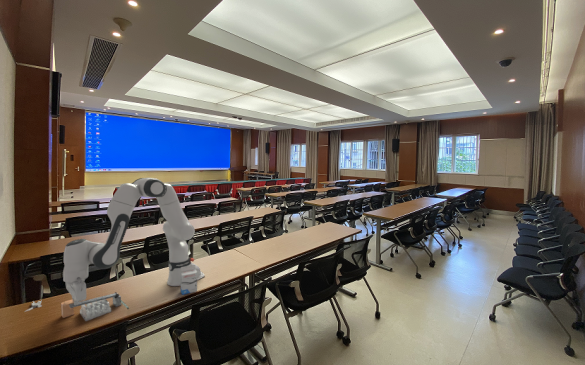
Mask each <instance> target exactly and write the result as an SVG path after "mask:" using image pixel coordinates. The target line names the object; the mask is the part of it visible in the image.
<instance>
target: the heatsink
mask: <svg viewBox="0 0 585 365" xmlns="http://www.w3.org/2000/svg"><path fill="white" fill-rule="evenodd" d="M121 300H122V296H121V295H120V294H119V297H117V296H116V297H112V305H113V306H114V307H115V308H117V307H119V306H122V303H121ZM80 307H81V308H80V309H79V314H80V316H81V317H82V319H83V320H84V321H85V322H88V321H91V320H93V319H95V318H99V317H101V316H103V315H106V314H108V313H111V312H112V308H111V307H110V302H109V301H108V300H107V299H104V300H100V301H96V302H92V303H88V304H84V305H81V306H80Z"/></svg>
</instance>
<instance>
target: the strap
mask: <svg viewBox="0 0 585 365" xmlns="http://www.w3.org/2000/svg"><path fill="white" fill-rule="evenodd" d="M119 295H120V294H119V293H118V292H116V291H115V292H114V293H111V294H106V295H104V296H103V295H102V296H98V297H94V298H90V299H85V300H83V301H79V304H78V305H74V304H69V307H70V308H73V307H74V308H76V307H81V305H84V304H85V305H86V304H88V303H90V304H92V302H96V301H100V300H104V299H106V300H107V299H113V297H116V296H117V297H119Z"/></svg>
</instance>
